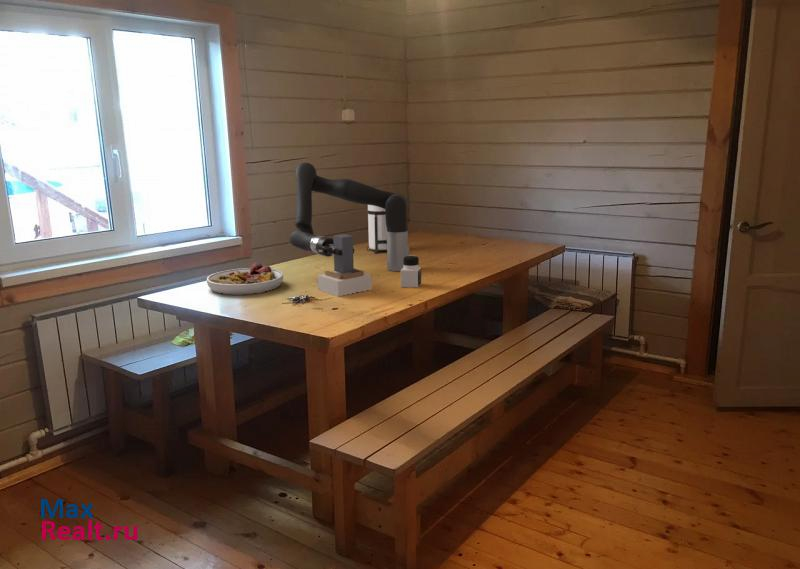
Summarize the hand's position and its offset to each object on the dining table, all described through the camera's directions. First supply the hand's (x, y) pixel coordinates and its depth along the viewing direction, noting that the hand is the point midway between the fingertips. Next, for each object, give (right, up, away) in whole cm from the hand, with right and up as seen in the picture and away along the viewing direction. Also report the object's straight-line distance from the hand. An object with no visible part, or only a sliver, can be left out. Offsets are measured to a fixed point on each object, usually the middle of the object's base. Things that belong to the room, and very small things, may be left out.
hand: (347, 252), depth 259 cm
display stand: (-1, -15, +6) cm, 16 cm away
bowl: (-42, -14, +13) cm, 46 cm away
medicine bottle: (+25, -13, +11) cm, 30 cm away
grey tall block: (-2, -7, +4) cm, 8 cm away
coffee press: (+11, +4, +82) cm, 83 cm away
